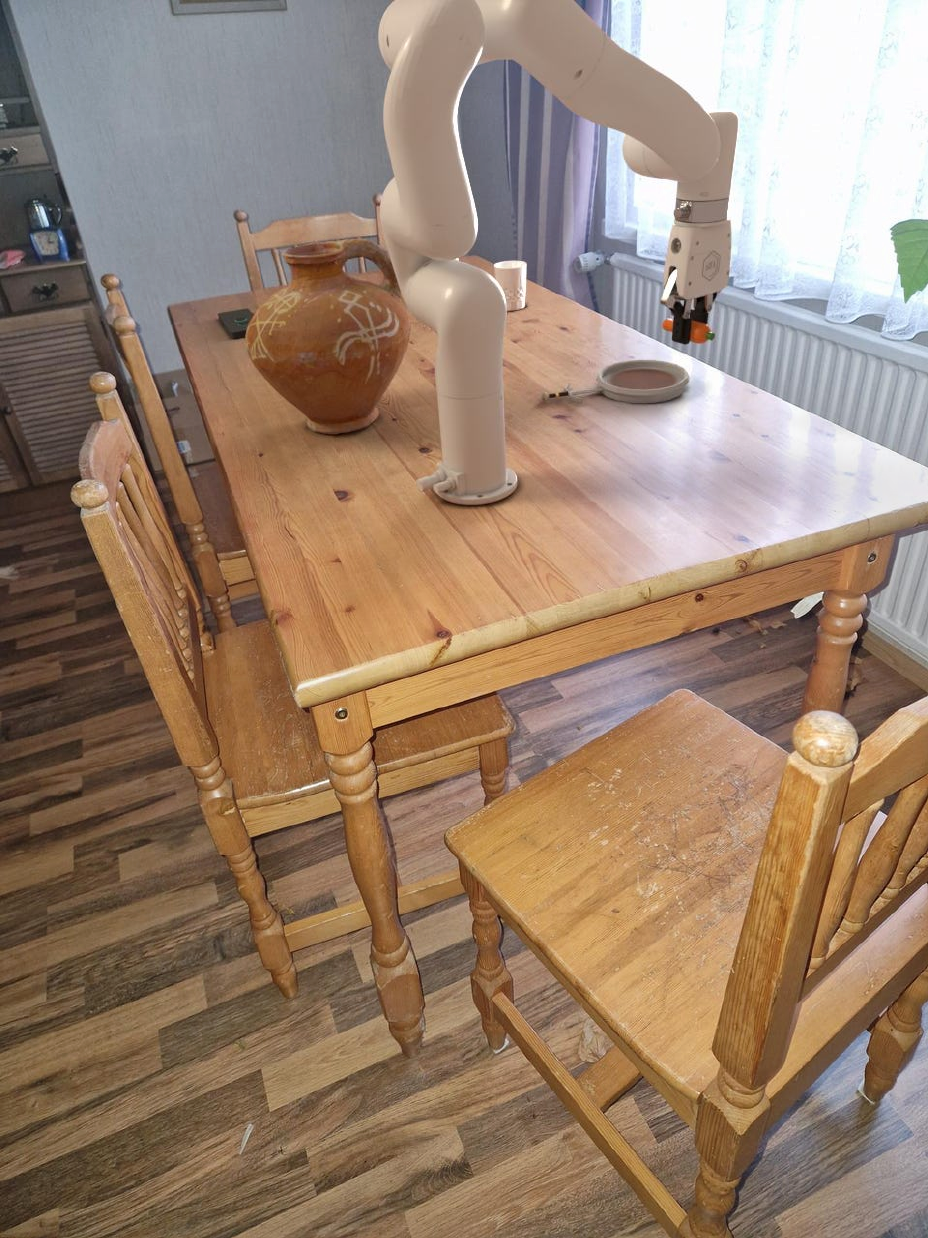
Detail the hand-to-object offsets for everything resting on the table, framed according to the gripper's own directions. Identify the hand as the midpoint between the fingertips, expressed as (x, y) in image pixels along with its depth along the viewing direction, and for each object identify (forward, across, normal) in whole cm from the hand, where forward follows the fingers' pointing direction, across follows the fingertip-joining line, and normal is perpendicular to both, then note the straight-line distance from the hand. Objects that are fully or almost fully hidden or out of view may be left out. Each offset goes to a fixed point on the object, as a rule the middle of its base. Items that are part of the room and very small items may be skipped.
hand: (688, 338), depth 127 cm
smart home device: (+15, -30, +118) cm, 122 cm away
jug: (+15, -41, +44) cm, 62 cm away
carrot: (0, 0, 0) cm, 1 cm away
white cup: (+15, +26, +79) cm, 84 cm away
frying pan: (+15, +4, +19) cm, 25 cm away
